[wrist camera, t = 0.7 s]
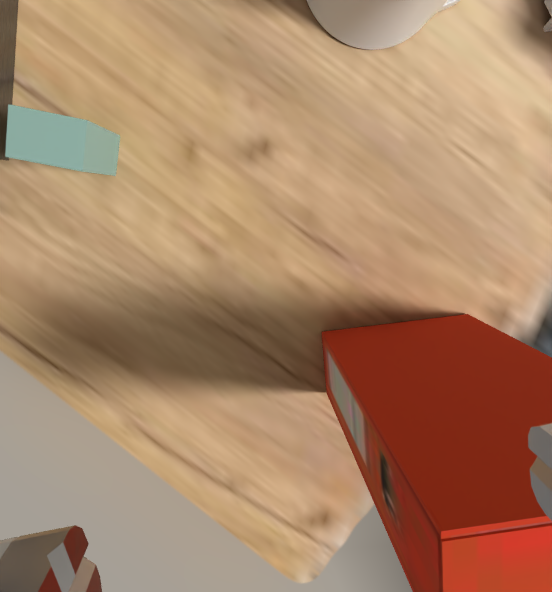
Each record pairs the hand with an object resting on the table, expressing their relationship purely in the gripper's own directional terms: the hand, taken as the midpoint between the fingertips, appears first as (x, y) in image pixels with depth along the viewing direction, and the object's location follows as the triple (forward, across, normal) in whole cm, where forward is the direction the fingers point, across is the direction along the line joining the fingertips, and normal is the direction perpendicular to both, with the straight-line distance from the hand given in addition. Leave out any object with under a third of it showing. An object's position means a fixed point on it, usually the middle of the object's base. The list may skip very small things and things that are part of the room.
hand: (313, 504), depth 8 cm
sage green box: (+42, +14, -12) cm, 46 cm away
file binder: (+42, -14, +16) cm, 47 cm away
